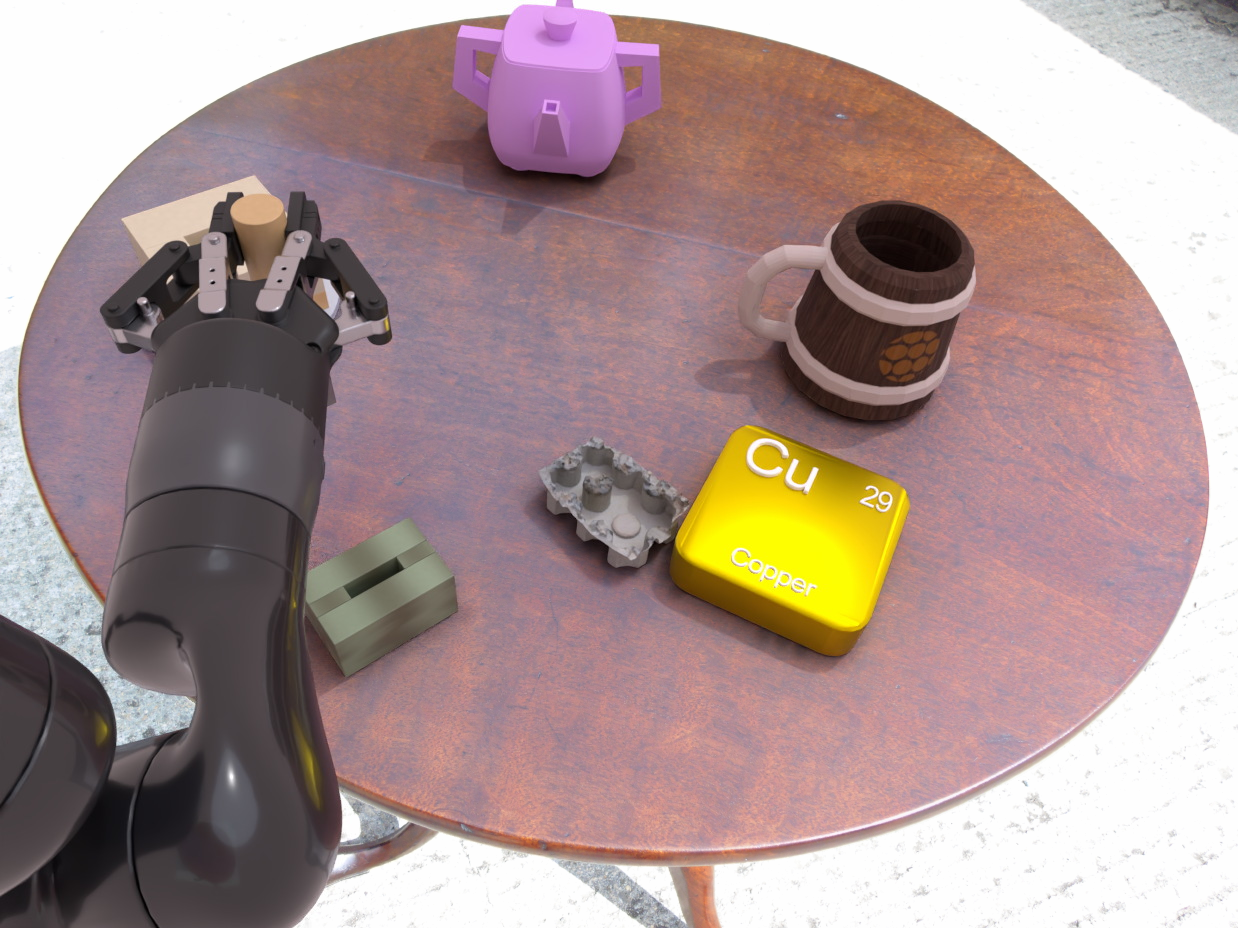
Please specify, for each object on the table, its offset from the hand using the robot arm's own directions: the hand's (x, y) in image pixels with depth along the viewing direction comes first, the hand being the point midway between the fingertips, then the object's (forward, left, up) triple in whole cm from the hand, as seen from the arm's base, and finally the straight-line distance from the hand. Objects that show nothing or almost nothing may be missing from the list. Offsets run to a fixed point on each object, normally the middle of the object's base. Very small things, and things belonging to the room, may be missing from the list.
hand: (270, 206), depth 50 cm
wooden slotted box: (-14, +22, -28) cm, 38 cm away
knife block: (+5, -9, -28) cm, 30 cm away
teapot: (+13, +51, -28) cm, 59 cm away
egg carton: (+21, +1, -28) cm, 35 cm away
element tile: (+34, -1, -28) cm, 45 cm away
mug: (+41, +20, -28) cm, 53 cm away
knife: (0, -3, -14) cm, 14 cm away
